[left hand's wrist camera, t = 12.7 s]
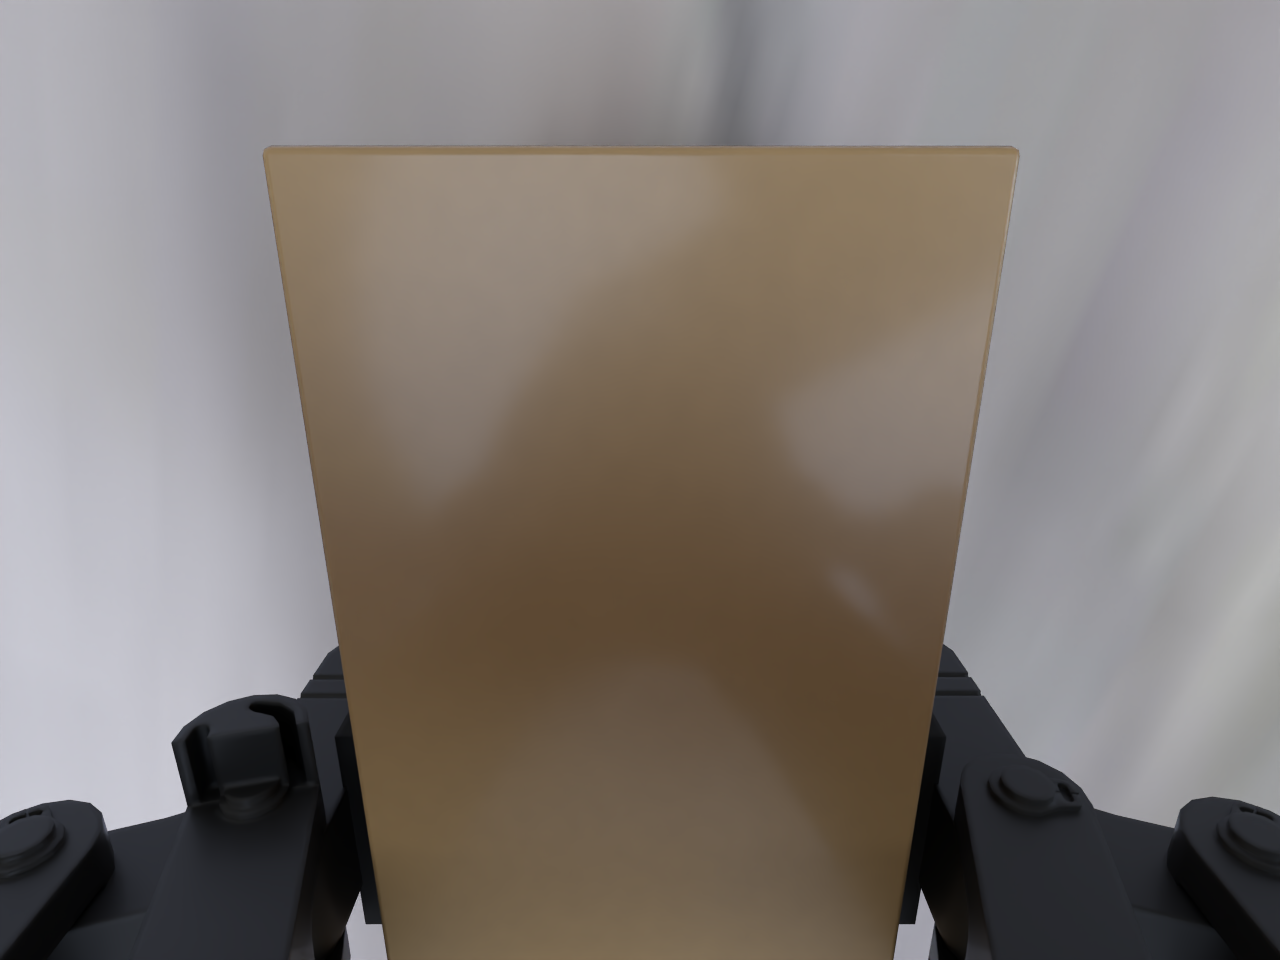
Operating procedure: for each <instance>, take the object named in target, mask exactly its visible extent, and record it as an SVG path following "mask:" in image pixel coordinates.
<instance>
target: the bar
mask: <svg viewBox="0 0 1280 960" xmlns="http://www.w3.org/2000/svg"><path fill="white" fill-rule="evenodd" d="M1019 157H1020V156H1019V150H1018V149H1016V148H1014V147H1012V146H269V147H267V148H265V149H264V152H263V160H264V167H265V173H266V179H267V186H268V192H269V199H270V205H271V212H272V218H273V225H274V231H275V237H276V244H277V250H278V257H279V263H280V270H281V276H282V283H283V289H284V295H285V302H286V308H287V315H288V321H289V328H290V334H291V341H292V347H293V353H294V360H295V366H296V373H297V379H298V386H299V392H300V399H301V405H302V411H303V418H304V424H305V431H306V437H307V444H308V450H309V456H310V463H311V469H312V476H313V482H314V489H315V495H316V502H317V508H318V514H319V521H320V527H321V534H322V540H323V547H324V553H325V560H326V566H327V572H328V579H329V585H330V592H331V598H332V605H333V611H334V618H335V624H336V630H337V637H338V643H339V650H340V656H341V663H342V669H343V676H344V682H345V688H346V695H347V701H348V708H349V714H350V721H351V727H352V734H353V740H354V746H355V753H356V759H357V766H358V772H359V779H360V785H361V792H362V798H363V804H364V811H365V817H366V824H367V830H368V837H369V843H370V850H371V856H372V862H373V869H374V875H375V882H376V888H377V895H378V901H379V908H380V914H381V920H382V927H383V933H384V940H385V946H386V953H387V959H388V960H893V958H894V952H895V945H896V939H897V933H898V926H899V920H900V914H901V907H902V901H903V895H904V888H905V882H906V875H907V869H908V863H909V856H910V850H911V844H912V837H913V831H914V825H915V818H916V812H917V805H918V799H919V793H920V786H921V780H922V774H923V767H924V761H925V755H926V748H927V742H928V735H929V729H930V723H931V716H932V710H933V704H934V697H935V691H936V685H937V678H938V672H939V666H940V659H941V653H942V646H943V640H944V634H945V627H946V621H947V615H948V608H949V602H950V596H951V589H952V583H953V576H954V570H955V564H956V557H957V551H958V545H959V538H960V532H961V526H962V519H963V513H964V506H965V500H966V494H967V487H968V481H969V475H970V468H971V462H972V456H973V449H974V443H975V436H976V430H977V424H978V417H979V411H980V405H981V398H982V392H983V386H984V379H985V373H986V366H987V360H988V354H989V347H990V341H991V335H992V328H993V322H994V316H995V309H996V303H997V297H998V290H999V284H1000V277H1001V271H1002V265H1003V258H1004V252H1005V246H1006V239H1007V233H1008V227H1009V220H1010V214H1011V207H1012V201H1013V195H1014V188H1015V182H1016V176H1017V169H1018V163H1019Z"/></svg>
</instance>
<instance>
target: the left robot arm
mask: <svg viewBox="0 0 1280 960" xmlns="http://www.w3.org/2000/svg"><path fill="white" fill-rule="evenodd" d="M980 692H981V691H980V690H979V688H978V687H977V685H976V684H975V682H974V681H973V679H972V678H971V677H968V672H967V671H966V669H965V668H964V666H963V665H962V663H961V662H960V660H959V659H958V657H957V656H956V655H955V653H954V652H953V651H952V650H951V649H950V648H948V647H947V646H945V645H944V644H943V646H942V653H941V659H940V666H939V672H938V678H937V685H936V691H935V697H934V704H933V710H932V716H931V723H930V729H929V735H928V742H927V748H926V755H925V761H924V767H923V774H922V780H921V786H920V793H919V799H918V805H917V812H916V818H915V825H914V831H913V837H912V844H911V850H910V856H909V863H908V869H907V875H906V882H905V888H904V895H903V901H902V907H901V914H900V920H899V924H915V921H916V915H917V909H918V904H919V898H920V892H921V889H922V891H923V894H924V896H925V899H926V901H927V904H928V906H929V908H930V911H931V913H932V916H933V918H934V921H935V924H934V930H933V935H932V941H931V947H930V952H929V958H928V960H1280V816H1279V815H1277V814H1275V813H1273V812H1271V811H1269V810H1266V809H1263V808H1261V807H1258V806H1254V805H1252V804H1248V803H1245V802H1243V801H1240V800H1232V799H1225V798H1218V797H1208V798H1201V799H1195V800H1191V801H1190V802H1189V803H1188V804H1186V805H1185V806H1184V807H1183V808H1182V809H1180V812H1179V815H1178V819H1177V822H1176V825H1175V828H1170V827H1166V826H1161V825H1157V824H1153V823H1148V822H1144V821H1139V820H1135V819H1131V818H1126V817H1122V816H1118V815H1114V814H1111V813H1107V812H1104V811H1100V810H1097V809H1094V808H1093V805H1092V804H1091V802H1090V801H1089V799H1088V798H1087V796H1086V795H1085V793H1084V792H1083V790H1082V789H1081V788H1080V787H1079V786H1078V785H1077V784H1076V783H1074V782H1073V781H1072V780H1071V779H1069V778H1068V777H1067V776H1066V775H1065V774H1063V773H1062V772H1060V771H1058V770H1056V769H1054V768H1052V767H1050V766H1048V765H1046V764H1044V763H1042V762H1040V761H1038V760H1034V759H1031V758H1027V757H1025V755H1024V754H1023V752H1022V751H1021V749H1020V748H1019V746H1018V745H1017V744H1016V742H1015V741H1014V739H1013V738H1012V736H1011V735H1010V733H1009V732H1008V730H1007V729H1006V727H1005V726H1004V725H1003V723H1002V722H1001V720H1000V719H999V717H998V716H997V714H996V713H995V711H994V710H993V709H992V707H991V706H990V704H989V703H988V701H987V700H986V698H985V697H984V696H981V693H980ZM171 744H172V748H173V751H174V755H175V759H176V763H177V767H178V771H179V775H180V779H181V782H182V786H183V790H184V794H185V798H186V802H187V806H188V807H187V809H186V812H184V813H181V814H178V815H174V816H171V817H168V818H164V819H159V820H155V821H151V822H146V823H142V824H138V825H133V826H129V827H124V828H120V829H116V830H111V831H107V828H106V825H105V822H104V819H103V815H102V813H101V812H100V811H99V810H98V809H97V808H95V807H94V806H93V805H92V804H91V803H87V802H80V801H74V800H65V801H58V802H50V803H43V804H40V805H37V806H34V807H31V808H28V809H24V810H22V811H19V812H16V813H13V814H11V815H9V816H8V817H6V818H4V819H2V820H0V960H350V957H351V955H350V948H349V941H348V935H347V930H346V924H347V922H348V919H349V917H350V914H351V912H352V909H353V907H354V904H355V902H356V899H357V897H358V894H359V892H360V893H361V899H362V905H363V911H364V917H365V923H366V924H382V920H381V914H380V908H379V901H378V895H377V888H376V882H375V875H374V869H373V862H372V856H371V850H370V843H369V837H368V830H367V824H366V817H365V811H364V804H363V798H362V792H361V785H360V779H359V772H358V766H357V759H356V753H355V746H354V740H353V734H352V727H351V721H350V714H349V708H348V701H347V695H346V688H345V682H344V676H343V669H342V663H341V656H340V650H339V646H338V647H336V648H335V649H334V650H332V651H331V652H329V653H328V654H327V656H326V657H325V659H324V660H323V662H322V663H321V665H320V666H319V668H318V669H317V671H316V672H315V673H314V675H313V680H310V681H309V682H308V684H307V685H306V687H305V688H304V690H303V691H302V693H301V698H297V700H296V699H294V698H290V697H286V696H282V695H278V694H275V695H253V696H249V697H245V698H240V699H236V700H232V701H228V702H226V703H224V704H221V705H219V706H217V707H215V708H212V709H210V710H208V711H206V712H204V713H202V714H201V715H199V716H198V717H197V718H195V719H194V720H192V721H191V722H190V723H188V724H187V725H185V726H184V727H183V728H182V730H181V731H180V732H179V734H178V735H177V736H176V737H175V739H174V740H173V741H172V743H171Z"/></svg>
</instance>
